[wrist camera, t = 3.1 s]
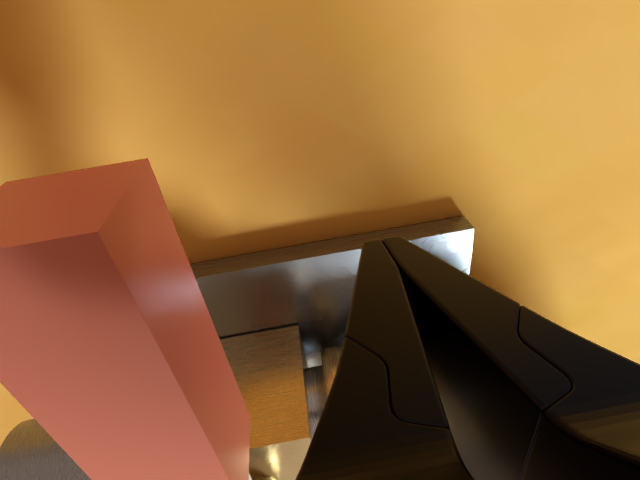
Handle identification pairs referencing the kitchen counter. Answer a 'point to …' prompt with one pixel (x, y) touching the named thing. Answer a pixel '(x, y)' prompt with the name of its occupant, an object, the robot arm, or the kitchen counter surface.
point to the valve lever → (114, 330)
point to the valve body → (268, 343)
